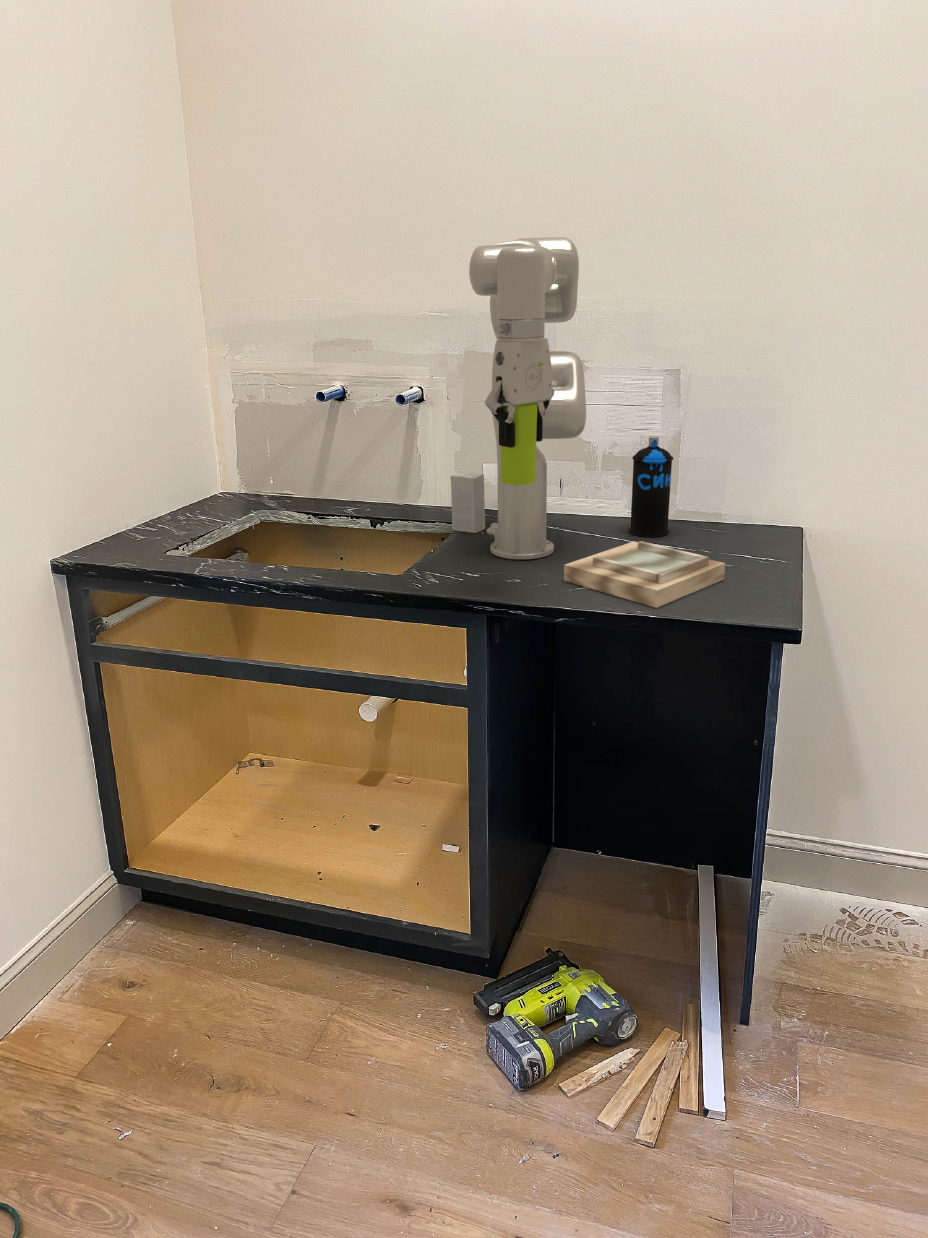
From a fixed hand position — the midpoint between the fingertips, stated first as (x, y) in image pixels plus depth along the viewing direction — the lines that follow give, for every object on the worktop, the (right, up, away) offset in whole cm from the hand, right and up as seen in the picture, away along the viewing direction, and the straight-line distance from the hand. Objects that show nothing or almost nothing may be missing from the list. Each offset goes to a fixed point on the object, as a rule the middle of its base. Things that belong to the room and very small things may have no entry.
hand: (520, 442), depth 151 cm
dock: (+23, -23, +10) cm, 33 cm away
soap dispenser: (0, -6, +3) cm, 7 cm away
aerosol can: (+29, -12, +39) cm, 50 cm away
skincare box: (-9, -11, +43) cm, 46 cm away
